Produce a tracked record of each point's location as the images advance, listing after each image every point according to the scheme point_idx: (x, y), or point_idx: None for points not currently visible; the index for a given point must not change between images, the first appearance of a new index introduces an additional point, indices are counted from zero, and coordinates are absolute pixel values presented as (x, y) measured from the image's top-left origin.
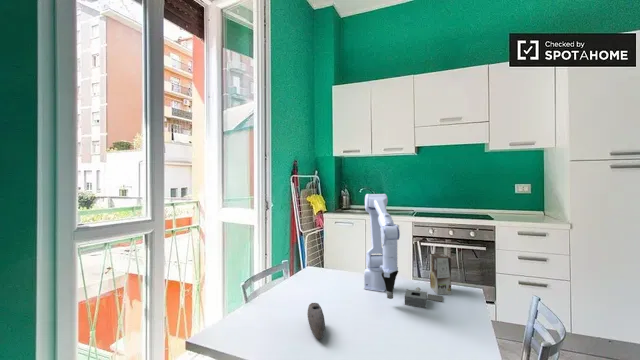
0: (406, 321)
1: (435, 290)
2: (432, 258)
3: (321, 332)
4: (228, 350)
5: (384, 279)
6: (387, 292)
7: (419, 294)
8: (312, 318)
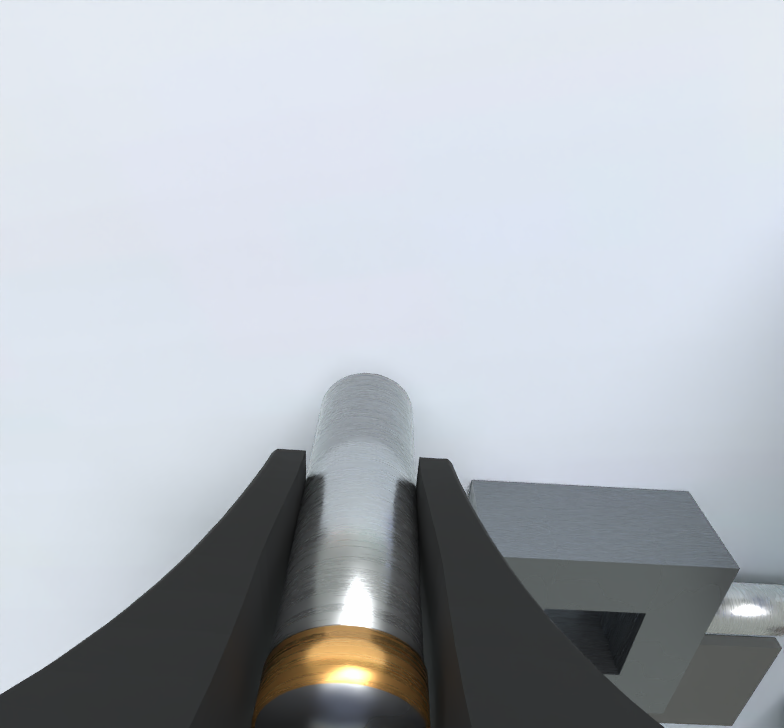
0: (89, 508)
1: None
2: None
3: None
4: None
5: (100, 648)
6: (327, 433)
7: (616, 652)
8: None
